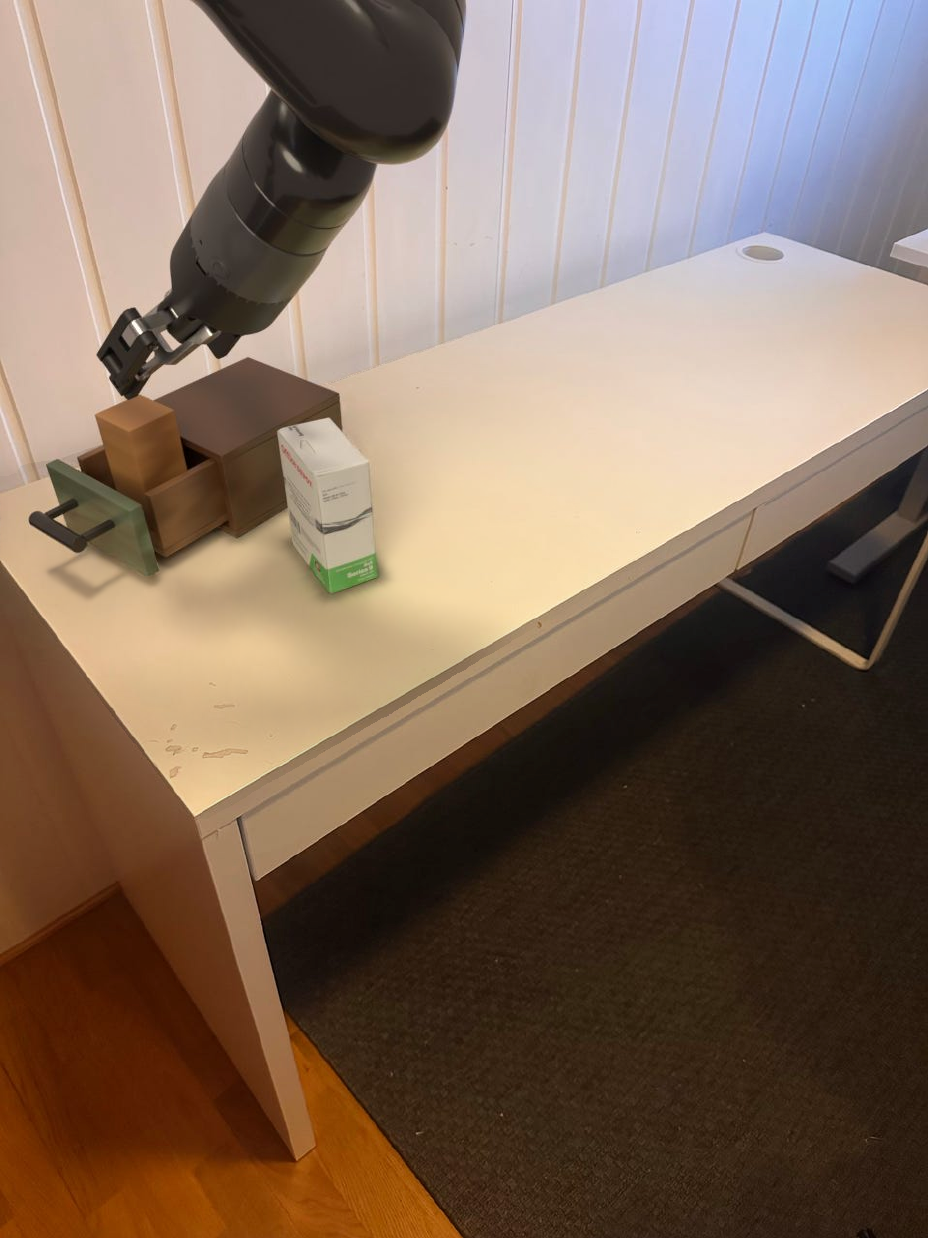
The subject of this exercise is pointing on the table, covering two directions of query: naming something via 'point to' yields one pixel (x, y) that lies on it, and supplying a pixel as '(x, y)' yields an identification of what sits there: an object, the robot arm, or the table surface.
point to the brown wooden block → (141, 447)
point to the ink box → (329, 503)
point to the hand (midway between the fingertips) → (169, 366)
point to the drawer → (132, 510)
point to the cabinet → (248, 431)
